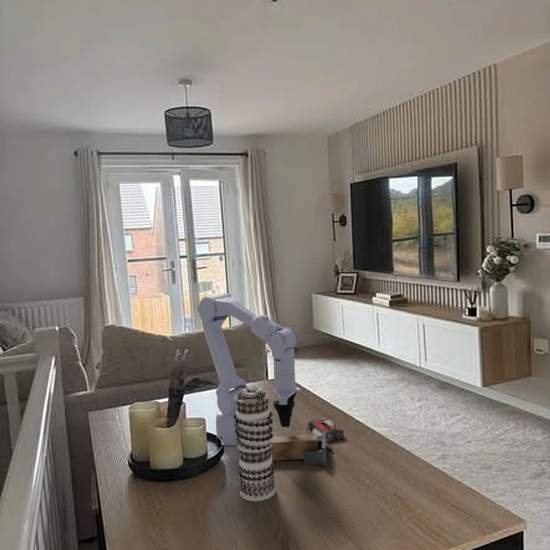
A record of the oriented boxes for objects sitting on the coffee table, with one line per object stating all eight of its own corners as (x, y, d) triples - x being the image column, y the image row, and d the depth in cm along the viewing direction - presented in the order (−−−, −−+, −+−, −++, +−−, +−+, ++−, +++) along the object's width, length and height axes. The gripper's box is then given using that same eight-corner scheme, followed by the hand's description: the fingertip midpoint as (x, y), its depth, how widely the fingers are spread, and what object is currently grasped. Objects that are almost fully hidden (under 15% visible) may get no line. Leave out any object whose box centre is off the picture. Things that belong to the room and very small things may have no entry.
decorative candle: (272, 503, 117) (266, 397, 115) (233, 500, 119) (227, 396, 117) (280, 483, 126) (274, 384, 124) (244, 481, 128) (238, 384, 126)
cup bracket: (303, 466, 135) (302, 447, 134) (304, 449, 144) (304, 432, 144) (326, 466, 134) (325, 447, 134) (326, 449, 144) (325, 432, 143)
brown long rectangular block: (259, 461, 139) (257, 443, 138) (261, 455, 143) (259, 437, 142) (318, 457, 137) (316, 439, 137) (318, 451, 141) (317, 434, 140)
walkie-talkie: (301, 429, 160) (328, 455, 141) (301, 415, 160) (327, 439, 141) (327, 424, 163) (356, 449, 144) (326, 411, 163) (356, 434, 144)
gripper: (297, 380, 132) (299, 431, 134) (300, 365, 147) (302, 411, 148) (270, 381, 133) (272, 431, 134) (276, 365, 147) (278, 411, 149)
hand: (286, 421), depth 141 cm, fingers open, 7 cm apart
